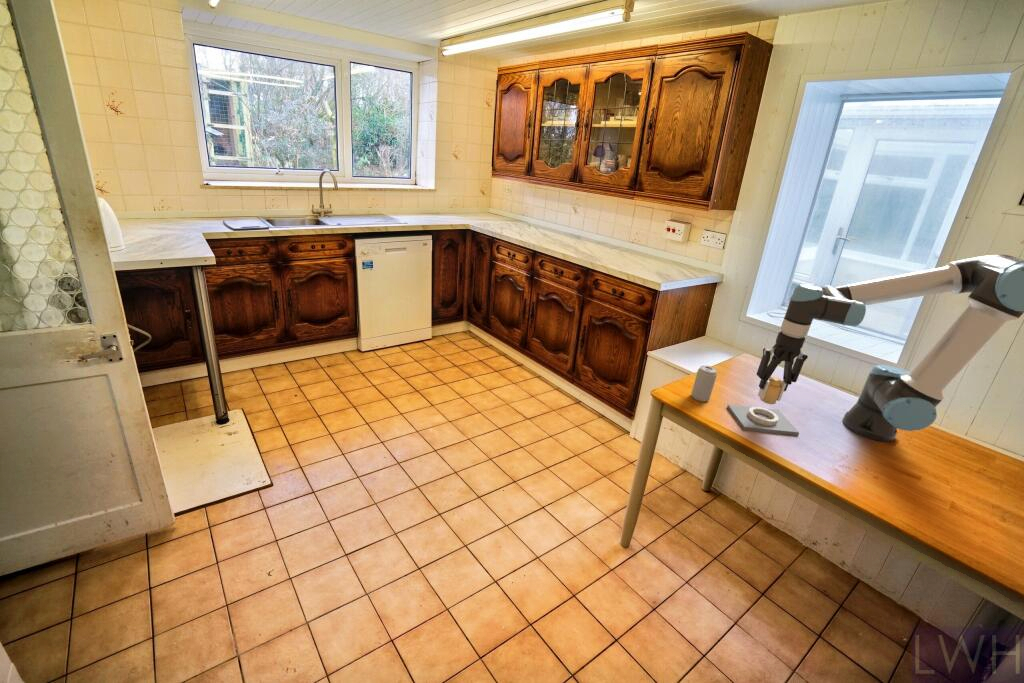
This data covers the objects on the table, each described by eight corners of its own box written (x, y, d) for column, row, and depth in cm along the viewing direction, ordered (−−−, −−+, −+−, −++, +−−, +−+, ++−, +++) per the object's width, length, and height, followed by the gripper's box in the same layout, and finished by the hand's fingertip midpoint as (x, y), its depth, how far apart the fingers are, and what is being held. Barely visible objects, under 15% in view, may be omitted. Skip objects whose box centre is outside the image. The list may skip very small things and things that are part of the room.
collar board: (777, 412, 168) (780, 405, 167) (798, 435, 155) (800, 428, 154) (727, 407, 168) (729, 400, 167) (743, 429, 155) (746, 422, 154)
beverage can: (710, 397, 173) (719, 368, 169) (706, 404, 168) (716, 374, 164) (693, 391, 176) (701, 362, 172) (688, 398, 171) (697, 368, 167)
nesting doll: (771, 397, 161) (779, 376, 157) (778, 405, 156) (786, 383, 153) (757, 396, 161) (765, 375, 157) (764, 403, 156) (771, 382, 153)
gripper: (814, 332, 152) (789, 395, 162) (759, 326, 152) (737, 389, 161) (827, 341, 145) (801, 406, 155) (770, 335, 145) (747, 400, 154)
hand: (768, 397), depth 158 cm, fingers closed on nesting doll, 5 cm apart
